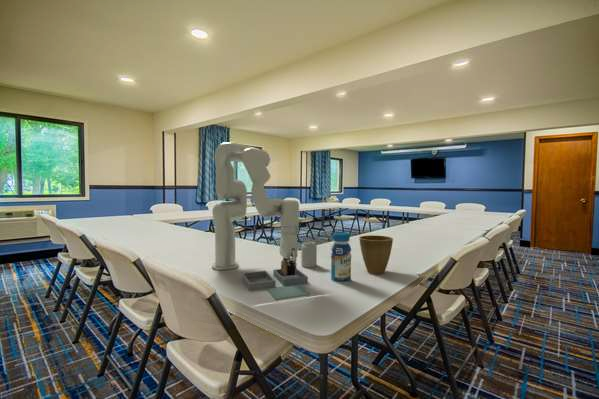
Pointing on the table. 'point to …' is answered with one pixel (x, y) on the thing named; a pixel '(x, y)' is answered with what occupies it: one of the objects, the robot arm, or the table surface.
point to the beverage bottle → (341, 258)
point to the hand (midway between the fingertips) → (288, 272)
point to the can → (309, 254)
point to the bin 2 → (290, 278)
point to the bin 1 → (258, 280)
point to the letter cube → (284, 266)
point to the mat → (288, 291)
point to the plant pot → (376, 252)
